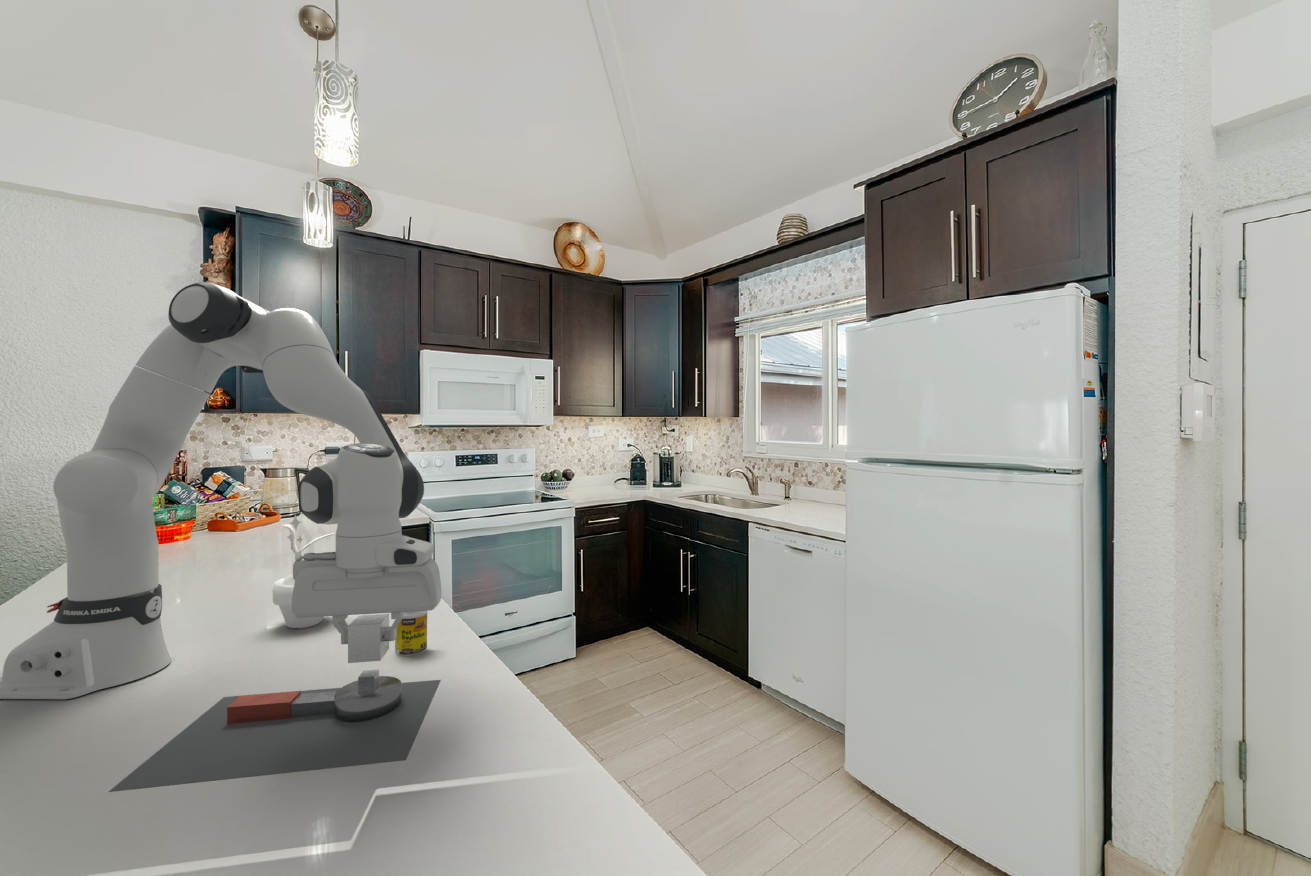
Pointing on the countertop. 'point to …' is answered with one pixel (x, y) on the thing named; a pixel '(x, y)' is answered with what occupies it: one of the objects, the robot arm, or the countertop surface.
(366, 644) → the light grey block
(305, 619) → the potted plant
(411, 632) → the supplement bottle
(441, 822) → the countertop surface
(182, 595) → the countertop surface
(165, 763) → the mat
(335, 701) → the ratchet
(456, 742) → the countertop surface
